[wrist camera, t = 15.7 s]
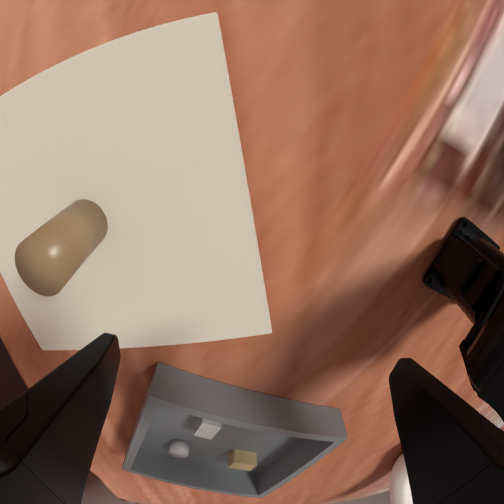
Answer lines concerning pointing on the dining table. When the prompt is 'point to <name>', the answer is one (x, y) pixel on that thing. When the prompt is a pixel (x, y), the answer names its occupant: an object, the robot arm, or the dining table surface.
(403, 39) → the dining table surface
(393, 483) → the white shrimp
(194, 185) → the tub lid
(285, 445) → the tray
